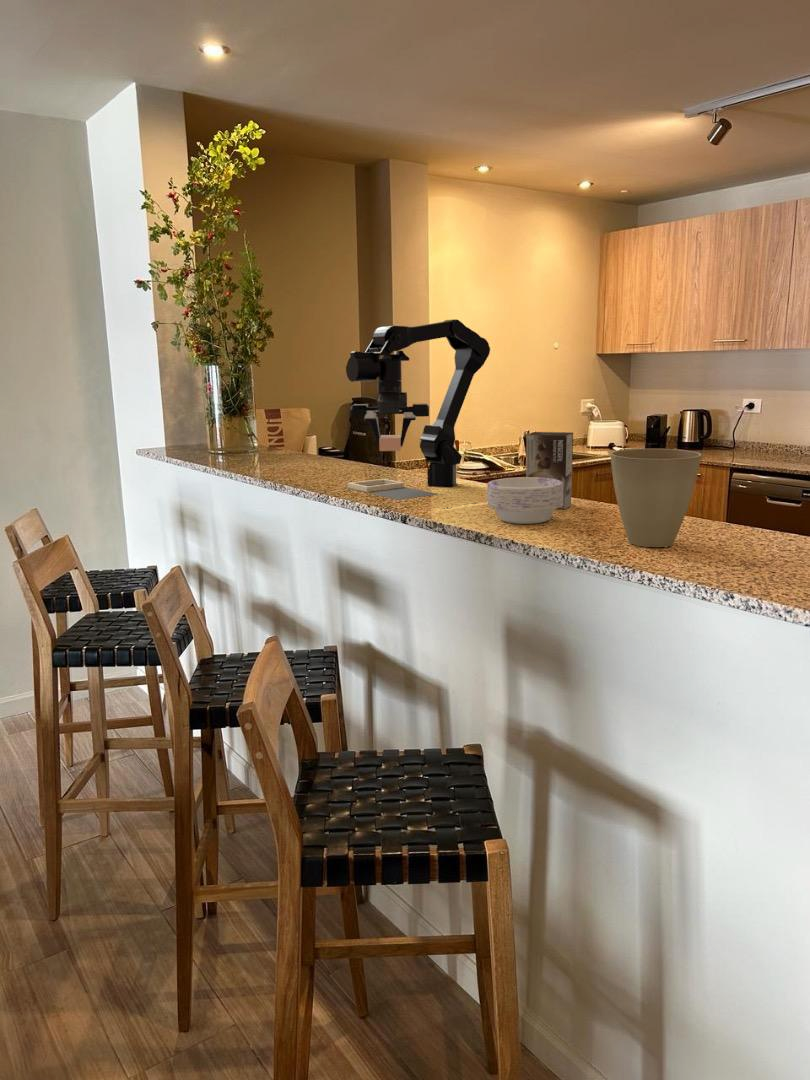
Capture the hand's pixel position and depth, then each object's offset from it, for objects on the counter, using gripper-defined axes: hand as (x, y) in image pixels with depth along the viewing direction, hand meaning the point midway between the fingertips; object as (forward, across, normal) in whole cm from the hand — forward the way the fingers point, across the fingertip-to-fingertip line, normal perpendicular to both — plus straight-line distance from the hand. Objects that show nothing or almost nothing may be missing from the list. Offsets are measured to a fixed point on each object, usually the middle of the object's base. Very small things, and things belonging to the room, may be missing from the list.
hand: (390, 446), depth 188 cm
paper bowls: (+12, +29, -33) cm, 45 cm away
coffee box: (+12, +36, -17) cm, 41 cm away
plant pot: (+12, +48, -54) cm, 73 cm away
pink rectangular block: (+1, 0, 0) cm, 1 cm away
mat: (+12, 0, +1) cm, 12 cm away
